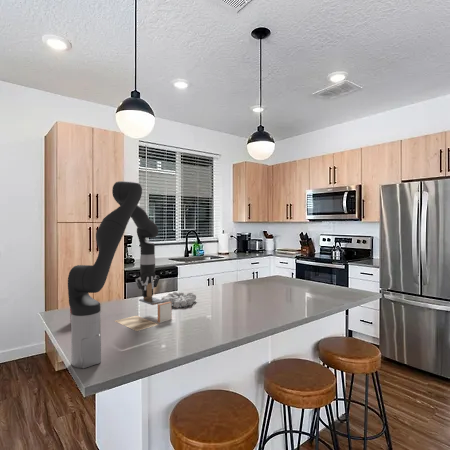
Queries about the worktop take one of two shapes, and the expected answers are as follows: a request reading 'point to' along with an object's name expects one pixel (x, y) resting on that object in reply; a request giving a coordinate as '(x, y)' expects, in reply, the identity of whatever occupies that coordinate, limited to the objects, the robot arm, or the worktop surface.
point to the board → (136, 323)
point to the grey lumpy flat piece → (180, 299)
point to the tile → (164, 311)
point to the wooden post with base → (150, 297)
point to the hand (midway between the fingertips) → (147, 296)
